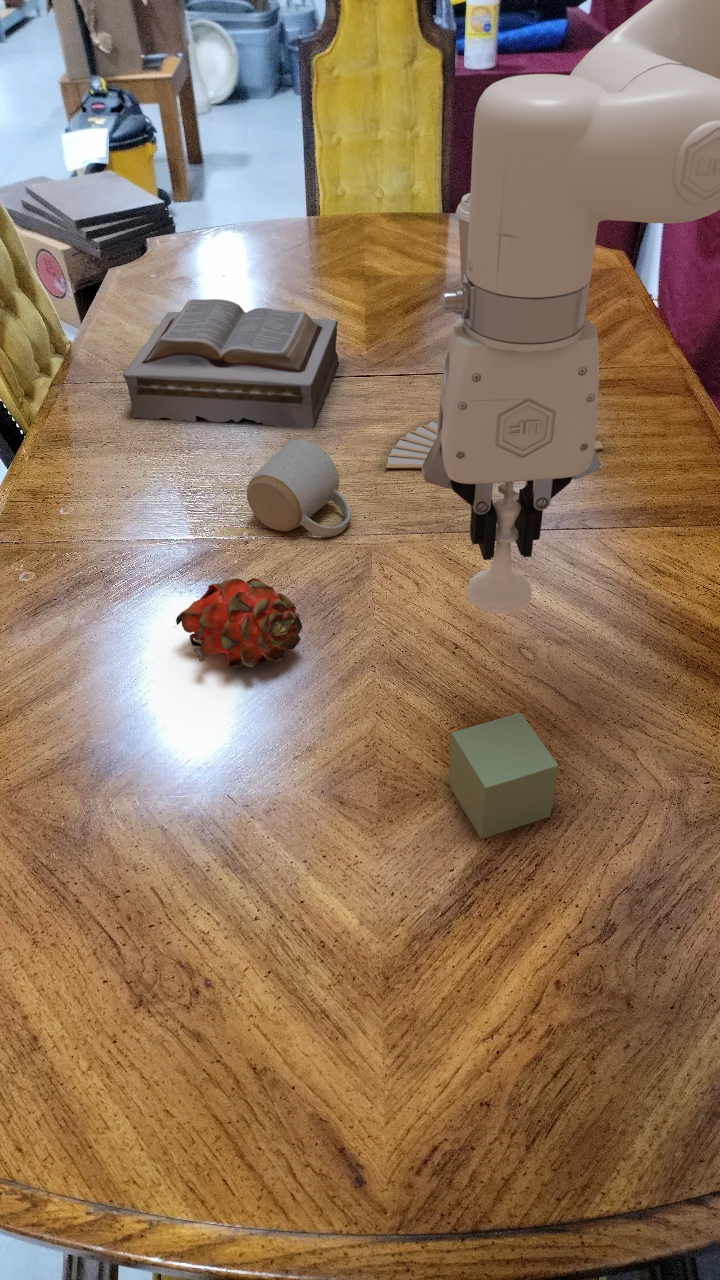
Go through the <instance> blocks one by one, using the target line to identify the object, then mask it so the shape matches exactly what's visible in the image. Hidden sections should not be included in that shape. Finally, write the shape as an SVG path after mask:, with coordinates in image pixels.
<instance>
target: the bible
mask: <svg viewBox="0 0 720 1280" xmlns="http://www.w3.org/2000/svg"><path fill="white" fill-rule="evenodd" d="M338 324H339V321H338V320H337V319H326V318H313V317H310V315H308V313H307V312H305V311H295V310H285V309H276V308H270V307H257V308H256V307H255V308H253V309H250V310H249V311H247V312H246V311H245V310H244V309H243V308H242V307H241V305H239V304H238V303H237V302H234V301H231V300H227V299H220V298H210V299H209V298H208V299H207V298H206V299H199V298H196V299H195V298H193V299H192V298H191V299H188V300H187V301H186V303H185V305H184V306H183V308H182V309H181V311H168V312H167V313H166V314H165V316H164V317H163V318H162V319H161V320H160V322H159V324H158V325H157V326H156V327H155V329H154V331H153V332H152V334H151V335H150V337H148V340H147V342H146V343H144V345H143V347H142V348H141V349H140V351H139V352H138V353H137V355H136V356H135V358H134V359H133V360H132V362H131V363H130V365H129V366H128V368H127V369H126V371H125V372H124V373H123V378H124V380H125V383H126V386H127V390H128V395H129V398H130V402H131V412H132V418H133V419H134V418H137V419H148V420H159V419H163V418H165V419H169V420H170V421H172V422H173V421H175V422H182V421H187V422H197V417H199V418H202V419H204V420H206V421H207V422H213V423H225V422H229V421H231V420H232V421H234V422H235V423H237V422H240V421H241V420H242V419H246V420H249V421H254V422H255V423H256V424H259V423H260V424H261V423H262V424H261V425H263V426H274V427H285V428H299V429H300V428H303V429H311V430H312V429H314V427H315V426H316V425H317V422H318V419H319V416H320V413H322V410H323V405H324V404H325V401H326V399H327V396H328V394H330V391H331V389H332V387H331V384H332V383H333V382H334V381H335V377H336V373H337V369H338V367H339V365H340V362H339V354H338V353H337V349H336V346H337V338H338Z"/></svg>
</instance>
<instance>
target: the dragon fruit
mask: <svg viewBox="0 0 720 1280" xmlns="http://www.w3.org/2000/svg"><path fill="white" fill-rule="evenodd" d="M207 588H208V589H207V590H206V592H205V593H204V594H203V595H202V596H201V597H200V599H197V600H195V601H193V602H192V603H191V604H190V606H188V607H187V608H185V609H184V610H183V611H181V612H180V613H179V614H178V615H177V617H176V619H175V623H176V626H179V624H181V626H182V629H183V630H184V631H185V632H186V633H188V634H189V642H190V644H191V645H192V646H193V647H194V648H193V652H194V653H195V654H196V657H197V658H198V661H199V662H204V661H206V658H207V657H211V656H215V655H219V654H224V655H226V658H227V661H226V664H227V667H229V669H232V670H233V669H237V668H243V667H245V666H246V667H248V668H255V667H256V665H259V664H263V663H267V662H268V661H273V662H279V661H283V659H284V654H285V651H289V650H291V651H292V650H295V648H296V647H297V646H298V645H299V643H300V642H301V640H302V639H301V637H300V635H299V634H300V633H301V631H302V629H303V628H304V626H303V624H302V620H301V617H300V613H298V612H297V611H296V610H297V607H296V605H295V603H294V602H293V601H292V600H291V599H290V598H289V597H287V596H286V595H285V594H283V593H281V592H277V593H276V591H275V589H274V587H273V586H270V585H268V584H266V583H265V582H263V581H261V580H260V579H258V578H255V577H252V578H251V579H249V580H247V581H245V580H243V579H241V578H230V579H226V580H224V581H222V582H220V583H218V582H217V583H212V584H211V583H210V584H209V585H208V587H207ZM176 626H175V624H174V627H173V630H175V627H176ZM198 641H200V642H201V643H200V642H198ZM198 647H199V648H198Z"/></svg>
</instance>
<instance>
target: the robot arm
mask: <svg viewBox="0 0 720 1280" xmlns="http://www.w3.org/2000/svg"><path fill="white" fill-rule="evenodd" d="M473 122H474V123H473V134H472V155H471V173H470V175H471V176H470V192H469V193H470V213H469V234H468V255H467V272H466V273H464V280H463V282H461V281H460V285H459V287H454V288H453V289H450V290H442V291H441V309H442V313H443V314H452V313H454V315H460V317H459V318H457V320H456V321H455V322H454V325H453V327H452V331H451V335H450V339H449V343H448V347H447V352H446V357H445V363H444V368H443V375H442V382H441V388H440V398H439V406H438V413H437V415H438V418H437V419H438V431H437V435H438V436H437V438H436V440H435V442H434V444H433V446H432V447H431V449H430V451H429V453H428V455H427V457H426V459H425V461H424V463H423V465H422V468H421V472H422V475H423V480H424V482H426V483H428V484H431V485H434V486H438V487H441V488H444V489H450V490H452V491H453V492H454V493H455V494H456V495H458V496H459V497H460V498H461V499H462V500H463V501H465V502H466V503H467V504H469V505H470V506H471V508H470V523H469V535H470V536H469V537H470V541H471V544H472V545H478V547H479V550H480V553H481V557H482V559H483V561H490V560H492V559H494V555H495V550H496V541H495V537H496V525H498V524H497V514H496V511H495V508H494V501H493V499H492V498H493V490H494V484H500V483H502V484H503V483H505V482H514V483H515V482H524V485H525V486H524V487H523V488H519V491H518V492H517V493H518V494H519V499H518V500H516V501H517V502H518V503H519V504H520V505H521V511H520V513H519V515H518V517H517V519H516V521H515V523H514V525H513V526H514V527H515V528H517V530H518V532H519V538H518V539H517V540H516V541H515V543H516V546H517V549H518V552H519V554H520V556H521V557H523V558H531V557H532V555H533V546H534V541H539V540H540V537H541V531H542V530H541V529H542V523H543V522H542V521H543V513H544V511H545V510H547V509H548V508H549V507H550V505H551V502H552V501H551V500H552V499H553V498H554V497H556V495H558V494H559V493H560V492H561V491H563V490H564V489H565V488H566V487H567V486H569V485H570V483H572V481H573V480H575V481H576V480H579V479H580V478H583V477H585V476H588V475H590V474H593V473H596V472H598V470H599V469H600V467H601V462H600V459H599V456H598V453H597V450H595V441H597V440H596V438H597V427H598V413H599V411H598V410H599V393H600V391H599V390H600V388H599V387H600V350H599V348H600V347H599V336H598V328H597V327H596V326H595V325H594V324H593V323H592V322H591V320H590V319H588V318H587V317H586V316H587V310H588V302H589V296H590V295H589V294H590V287H591V278H592V272H593V271H592V270H593V264H594V255H595V247H596V240H597V235H598V234H597V233H598V227H599V223H600V222H603V221H619V222H635V223H636V222H637V223H649V224H670V225H671V224H682V223H689V222H693V221H696V220H700V219H702V218H705V217H708V216H711V215H712V214H715V213H716V212H718V211H720V0H651V1H650V2H648V3H647V4H646V5H645V6H643V7H641V9H639V10H638V11H637V12H636V13H634V14H633V15H632V16H630V17H629V18H628V19H627V20H625V21H624V22H623V23H621V24H620V25H619V26H618V27H616V28H615V29H614V30H612V31H611V32H610V33H609V34H607V35H606V36H605V37H603V38H602V39H601V40H600V41H599V42H597V44H595V46H594V47H593V48H591V49H590V50H589V51H588V52H587V53H586V54H585V55H584V56H583V57H582V59H581V60H580V61H579V62H578V64H577V65H576V66H575V67H574V68H573V69H572V71H571V72H570V74H569V75H567V74H557V73H534V74H533V73H531V74H520V75H512V76H509V77H506V78H505V77H504V78H502V79H500V80H498V81H495V82H493V83H492V84H490V85H489V86H488V87H487V88H485V89H484V91H483V93H482V94H481V95H480V97H479V99H478V101H477V104H476V106H475V110H474V120H473Z"/></svg>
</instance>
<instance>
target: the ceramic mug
mask: <svg viewBox="0 0 720 1280" xmlns="http://www.w3.org/2000/svg"><path fill="white" fill-rule="evenodd" d="M339 487H340V474H339V471H338V469H337V466H336V464H335V462H334V460H333V459H332V457H331V456H330V455H329V454H328V453H327V451H325V450H324V449H322V447H320V445H318V444H316V443H314V442H312V441H310V440H307V439H302V438H299V439H298V438H297V439H292V440H290V441H288V442H286V443H285V444H284V445H283V446H282V447H281V448H280V449H279V450H278V451H276V453H275V454H274V455H273V456H272V457H271V458H270V459H269V460H268V461H267V462H266V463H265V464H263V466H262V467H260V469H258V471H256V472H255V474H254V475H253V477H252V478H251V479H250V481H249V483H248V485H247V488H246V499H247V504H248V506H249V508H250V510H251V512H252V513H253V514H254V516H255V517H256V519H257V520H258V521H260V522H261V523H262V524H263V525H264V526H266V527H268V528H269V529H272V530H274V531H278V532H289V531H292V530H294V529H297V528H298V527H300V526H302V527H303V528H304V529H305V530H306V531H308V532H309V533H312V534H314V535H317V536H318V537H324V538H325V537H326V538H330V537H335V536H338V535H341V533H343V532H344V531H345V530H346V528H347V527H348V524H349V523H350V521H351V519H352V511H351V508H350V505H349V503H348V501H347V500H346V499H345V497H344V496H343V495H342V494H341V493H340V492H339ZM329 501H332V502H333V503H334V504H335V506H337V507H338V509H339V510H340V511H341V513H342V515H343V517H344V518H343V519H344V520H343V521H342V522H341V523H340V524H337V525H334V526H325V525H322V524H320V523H318V522H316V521H314V520H313V519H311V517H312V516H313V515H314V514H316V513H317V512H318V511H319V510H321V508H323V507H324V506H325V505H326V504H328V502H329Z"/></svg>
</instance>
